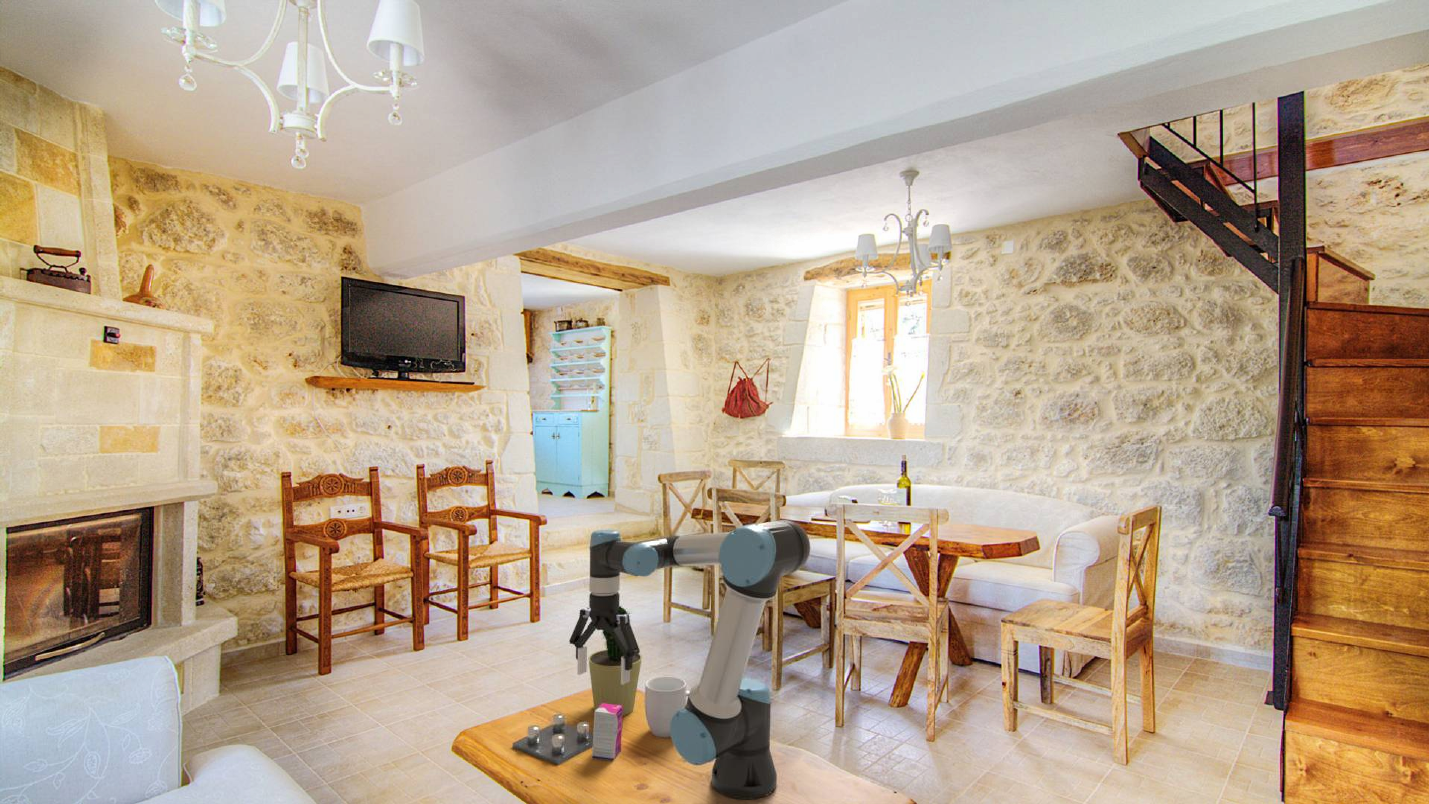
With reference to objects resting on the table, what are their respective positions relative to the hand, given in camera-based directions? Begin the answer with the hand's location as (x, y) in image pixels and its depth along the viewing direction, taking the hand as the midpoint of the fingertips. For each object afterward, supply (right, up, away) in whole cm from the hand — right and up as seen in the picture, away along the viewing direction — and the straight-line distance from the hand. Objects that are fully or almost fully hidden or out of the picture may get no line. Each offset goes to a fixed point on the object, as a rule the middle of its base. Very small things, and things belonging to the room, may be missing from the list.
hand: (603, 678), depth 176 cm
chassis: (-12, -19, +5) cm, 23 cm away
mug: (+16, -20, +13) cm, 28 cm away
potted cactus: (-1, -20, +27) cm, 34 cm away
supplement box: (+1, -19, -1) cm, 19 cm away
